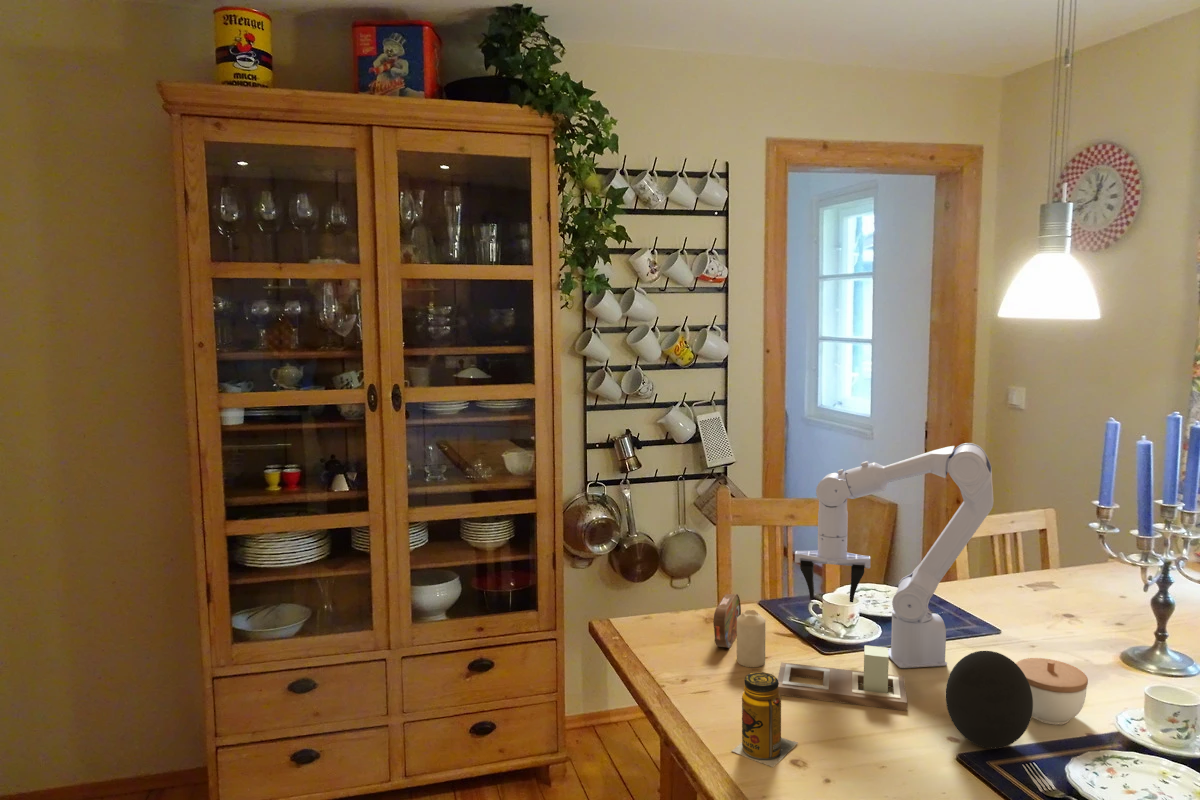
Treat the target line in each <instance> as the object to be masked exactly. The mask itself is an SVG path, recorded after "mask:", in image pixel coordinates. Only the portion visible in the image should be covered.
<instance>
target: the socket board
mask: <svg viewBox="0 0 1200 800" xmlns="http://www.w3.org/2000/svg"><path fill="white" fill-rule="evenodd" d="M778 670H779V672H778V676H777V679H778V682H779V685H778V688H779V694H780V696H787V697H792V698H802V699H803V698H804V699H808V700H809V699H811V700H819V701H826V702H834V703H843V704H850V705H851V704H852V705H856V706H857V705H858V706H867V707H874V708H880V709H881V708H882V709H889V710H897V711H905V712H907V711H908V699H907V698H908V697H907V692H906V683H905V676H904V675H899V674H898V675H897V674H896V675H895V674H889V673H888V688H892V693H888V694H886V693H878V692H870V691H863V690H861V689H859V685H863V684H864V670H863V671H862V670H861V671H859V670H854V669H853V670H852V669H842V668H835V667H826V666H819V665H807V664H799V663H792V662H785V661H784V662H783V661H781V662H780V666H779V669H778ZM791 677H798V678H799V677H801V678H809V679H818V680H822V685H821V684H820V685H818V684H811V683H803V682H802V683H801V682H793V681H791Z"/></svg>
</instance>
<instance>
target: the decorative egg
mask: <svg viewBox="0 0 1200 800" xmlns="http://www.w3.org/2000/svg"><path fill="white" fill-rule="evenodd" d="M1016 663H1017V662H1015V661H1014V660H1013V659H1011V658H1010V657H1008V656H1006V655H1004V654H1002V653H1000V652H996V651H992V650H979V651H974V652H971V653H969V654H967V655H965V656H964V657H962V658H961V659H959V660H958V662H957V663H956V664H955V665H954V667H953V668H952V669H951V671H950V674H949V676H948V678H947V681H946V686H945V704H946V710H947V712H948V715H949V718H950V720H951V722H952V723H953V725H954V727H955V729H956V730H957V731H958V732H959V733H960V734H961V735H962V737H963V738H965V739H966V740H967V741H969V742H970V743H973V745H976V746H978V747H982V748H986V749H1000V748H1004V747H1008V746H1010V745H1012V744H1014V743H1015V742H1017V741H1018V740H1019V739H1021V737H1022V736H1023V735H1024V734H1025V732H1026V731H1027V729H1028V727H1029V725H1030V722H1031V720H1032V718H1033V717H1032V711H1033V697H1032V692H1031V688H1030V685H1029V682H1028V680H1027V678H1026V676H1025V674H1024V673H1023V671H1022V670H1021V669H1020V668H1019V666H1018V665H1017V664H1016Z"/></svg>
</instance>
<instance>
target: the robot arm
mask: <svg viewBox="0 0 1200 800" xmlns="http://www.w3.org/2000/svg"><path fill="white" fill-rule="evenodd" d="M992 470H993V469H992V464H991V462H990V459H989V457H988V455H987V453H986V451H985V450H984V449H983V448H982V447H981V446H980V445H979V444H975V443H973V442H965V443H961V444H959V445H957V446H956V447H955V445H951V446H945V447H942V448H941V447H940V448H937V449H933V450H930V451H927V452H924V453H921V454H918V455H915V456H912V457H909V458H906V459H903V460H900V461H899V460H898V461H896V462H893V463H891V464H887V465H882V464H880V463H878V462H869V460H866V461H862V462H861V463H860V466H856V467H853V468H849V469H847V470H844V468H842V469H838V470H837V472H832V473H827V474H826V475H825V476H824V477H823V478H822V479H821V480H820V481H819V482H818V484H817V486H816V488H815V494H816V497H817V499H818V510H817V511H818V512H817V516H818V517H817V550H795V552H794V563H795V564H799V565H800V566H799V569H800V571H801V573H802V575H803V576H804V577H803V578H804V580H805V582H806V585H807V587H808V588H807V589H808V592H809V599H812V600H813V599H814V597H815V584H814V569H815V564H822V565H825V564H826V565H834V566H835V565H836V566H849V567H850V573H851V574H850V589H849V603H854V599H855V594H856V591H857V588H858V586H859V584H860V582H861V580H862V578H863V576H864V574H865V569H871V556H870V555H865V554H864V555H862V554H857V553H851V552H848V529H849V527H848V525H849V523H848V522H849V521H848V520H849V516H848V515H849V512H848V499H850V500H855V499H858V498H862V497H865V496H869V495H872V494H877V493H879V492H884V491H885V490H886V489H887V487H888V485H889V483H891V482H895V481H901V480H905V479H909V478H913V477H917V476H922V475H926V474H933V475H935V476H938V477H941V478H943V479H946V478H947V475H948V474H949V476H950V478H951V479H952V481H953V482H954V483H955V484H956V486H957V487H958V488H959V491H960V494H961V497H962V500H963V501H962V502H961V504H960V505H959V507H958V509H957V510H956V511H955V512H954V514H953V515H952V517H951V519H950V520H949V521H948V523H947V524H946V526H945V527H944V529H943V530H942V531H941V533H940V534H939V536H938V537H937V539H936V540H935V541H934V543H933V544H932V546H931V547H930V548H929V550H928V551H927V553H926V555H925V556H924V557H923V559H922V560H921V562H920V563H919V564H918V565H917V566H916V567H915V568H914V570H913V571H912V572H911V573H909V574H907V575H906V576H904V577H902V578H901V579H900V580H899V582H898V584H897V590H896V591H895V594H894V595H893V597H892V600H891V603H892V608H893V609H892V611H891V635H890V636H891V641H890V642H891V645H890V647H887V648H888V655H889V660H891V661H892V662H893V663H894V664H895V665H896V666H897V667H898V668H899V669H911V668H913V669H914V668H926V667H927V668H928V667H929V668H930V667H944V666H948V662H947V661H946V647H947V646H946V645H947V643H946V642H947V630H946V629H947V628H946V625H945V622H944V620H943V618H942V617H941V616H940V615H939V614H938V613H932V612H931V611H930V610H931V609H929V602H930V600H931V598H932V597H933V596H934V593H935V591H936V590H937V588H938V586H939V585H940V582H941V581H942V580H943V578H944V577H945V575H946V573H947V572H948V571H949V570H950V568H951V567H952V566H953V564H954V563H955V561H956V560H957V559H958V557H959V556H960V554H961V553H962V551H963V550H964V549H965V547H966V546H967V545H968V544H969V542H970V540H971V539H972V538H973V536H974V535H975V533H976V532H977V530H978V529H979V528H980V527H981V525H982V523H984V521H985V520H986V518H987V517H988V516H989V514H990V512H991V511H992V509H993V507H994V503H995V502H994V500H995V499H994V488H993V471H992Z"/></svg>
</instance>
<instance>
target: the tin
mask: <svg viewBox="0 0 1200 800" xmlns="http://www.w3.org/2000/svg"><path fill="white" fill-rule="evenodd" d="M741 607H742V606H741V600H740V595H739V594H738V593H736V594H734V593H731V594H729V593H725V594H724V595H723V597H722V598H721V600H720V601H719V603H718V605H717V606H716V608H715V610H714V614H713V624H712V625H713V631H714V632H713V634H714V644H715V646H716V647H719V648H727V649H730V648H731V647H732V645H733V644H734V642H735V640H736V639H737V618H738V617H739V616H740V615H741V614H742V608H741Z"/></svg>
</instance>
